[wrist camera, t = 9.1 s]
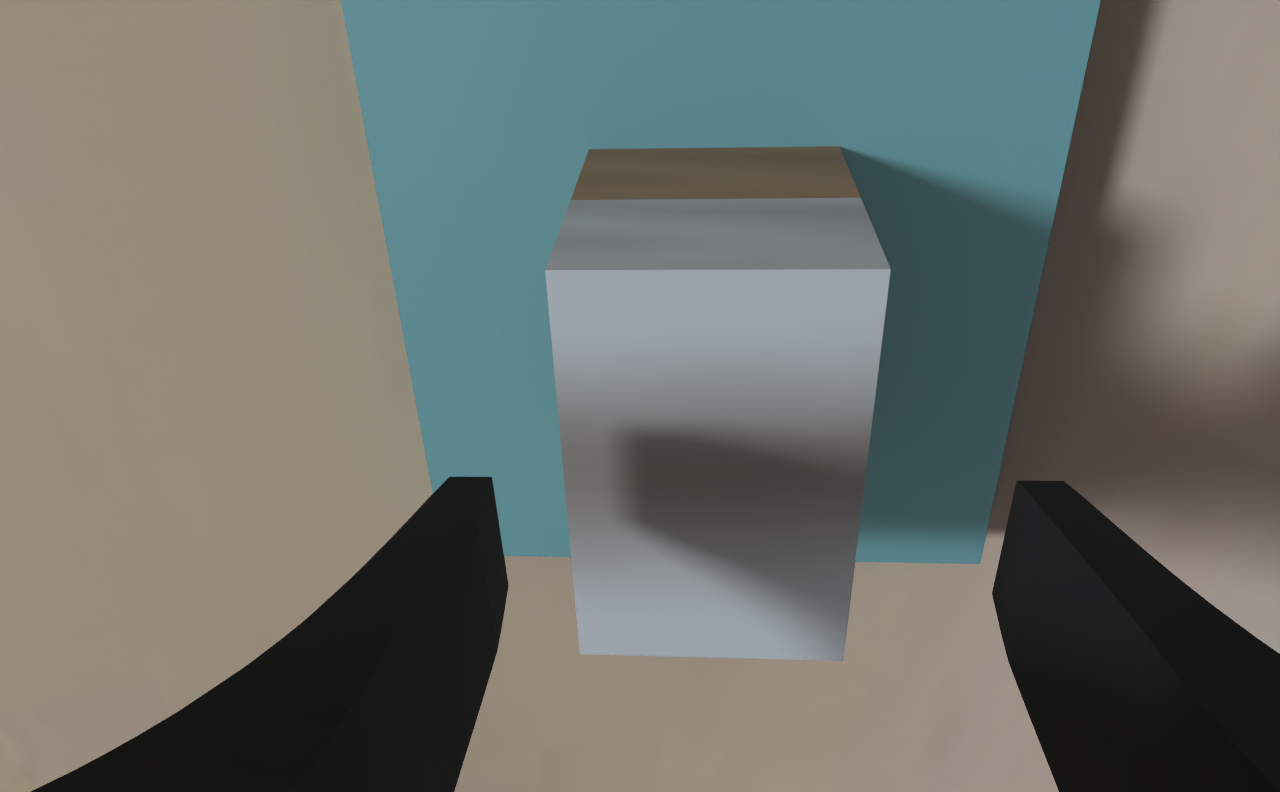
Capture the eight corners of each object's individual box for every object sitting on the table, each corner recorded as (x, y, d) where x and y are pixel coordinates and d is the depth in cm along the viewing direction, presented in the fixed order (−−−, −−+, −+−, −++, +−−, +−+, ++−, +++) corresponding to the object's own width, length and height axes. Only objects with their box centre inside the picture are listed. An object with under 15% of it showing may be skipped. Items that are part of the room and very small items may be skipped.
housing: (811, 471, 22) (842, 660, 17) (607, 469, 23) (579, 653, 18) (839, 146, 18) (890, 268, 13) (589, 149, 19) (544, 270, 14)
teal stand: (1070, -46, 18) (1107, -33, 16) (961, 514, 25) (980, 563, 24) (371, -28, 19) (338, -14, 17) (461, 507, 26) (444, 554, 25)
